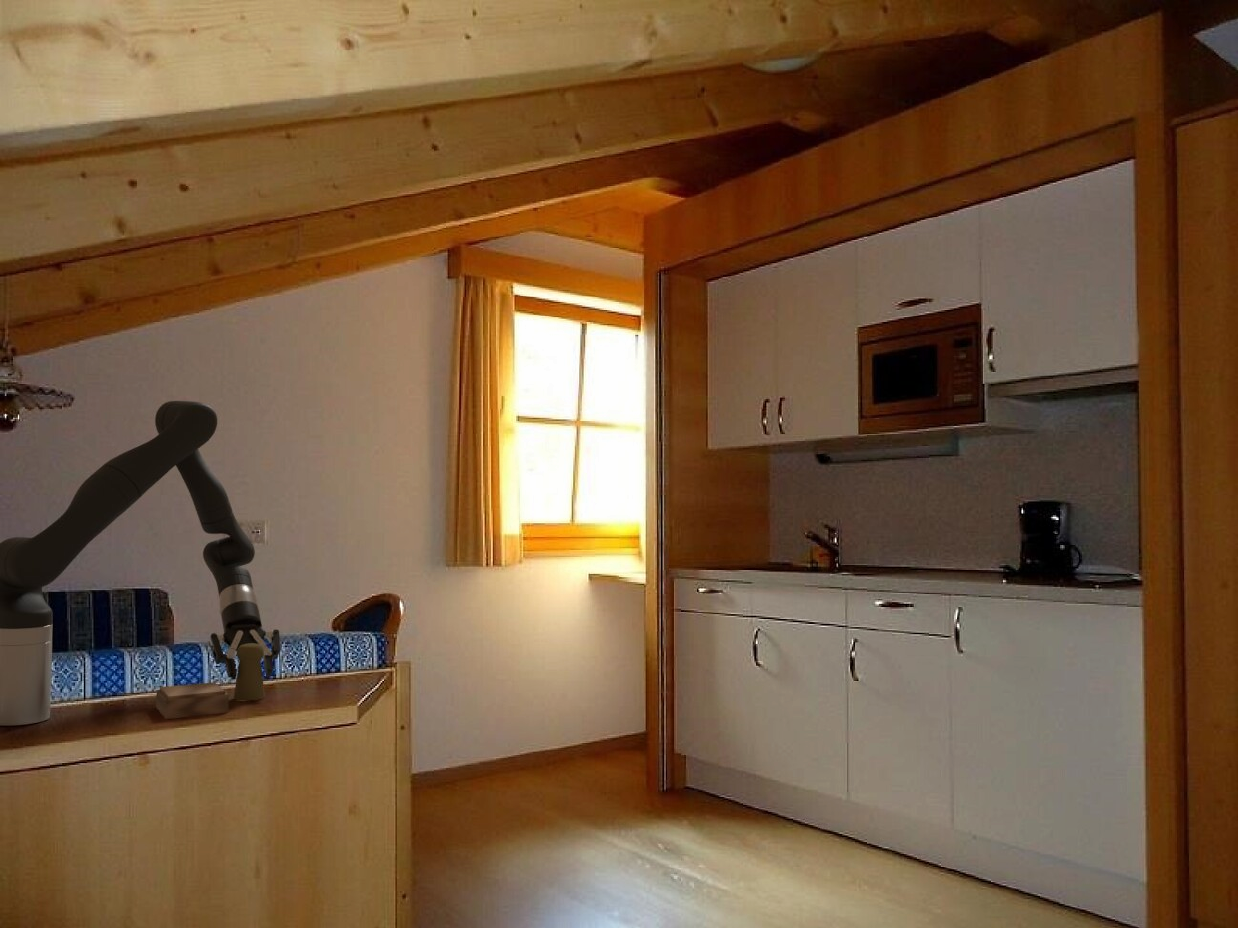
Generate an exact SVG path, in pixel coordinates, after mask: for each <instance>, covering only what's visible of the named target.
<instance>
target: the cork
mask: <svg viewBox="0 0 1238 928" xmlns="http://www.w3.org/2000/svg"><path fill="white" fill-rule="evenodd" d="M263 655H264V649H263V647H262V645H260V644H255V643H249V644H244V645H241V646H239V647H238V649H237V652H236V657H237V659H238V661H239V662H238V667H237V668H238V669H237V675H236V679H235V688H234V693H233V699H232V700H234V699H235V700H234V701H236V700H244V701H243V702H250V701H249V700H255V701H259V700H258V699H261V700H263V699H265V698H266V696H265V695H266V694H265V686H264V678H263V669H262V661H261V660H263V659H262V657H263ZM245 700H246V701H245Z"/></svg>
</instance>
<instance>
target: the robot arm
mask: <svg viewBox="0 0 1238 928" xmlns="http://www.w3.org/2000/svg"><path fill="white" fill-rule="evenodd" d="M154 418H155V419H154V424H155V428H156V431H157V434H158V435H156V436H155V437H154V438H152V439H150V440H148V441H146V442H145V443H142V444H140V445H138V446H136V447H134V448H131V449H129V450H126V451H125V452H122V453H121V454H119V455H116V456H115V457H112V458H111V459H109V460H108V461H107V462H105V463H104V464H103V465H101V466H100V467H99V468H98V469H96V471H94V473H92V474H91V475H90V476H89V477H87V478H86V479H85V480H84V481H83V482H82V484H80V486H79V488H77V491H76V492H75V494H74V496H73V498H72V500H71V502H70V504H69V506H68V507H67V509H65V511H64V512H63V513H62V514H61V516H60V517H58V519H56V520H55V521H54V522H52V523H51V524H50V525H49V526H47V527H46V528H45V529H44V530H42V531H41V532H39V533H38V534H36V535H35V536H33V537H26V536H25V537H24V536H20V537H19V536H16V537H9V538H7V539H5V540H3V541H1V542H0V726H6V727H7V726H22V725H31V724H35V723H41V722H44V721H46V720H49V719H50V717H51V698H52V697H51V696H52V694H51V692H52V690H51V688H52V661H53V660H52V659H53V657H52V655H53V627H54V626H53V620H54V619H53V618H54V617H53V616H54V613H53V609H52V608H51V607H50V605H49V604H47V602H46V600H45V599H44V596H43V594H44V593H43V588H44V587H46V586H49V585H50V584H52V583H53V582H54V581H55V580H56V579H58V578H59V576H61V575H62V573H63V572H64V571H65V570H66V569H67V568H68V567H69V565H70V564H72V562H73V561H74V560H75V559H76V558H77V557H78V555H79V554H80V553H81V552H83V550H84V549H85V548H86V547H87V546H88V545H89V544H90V542H92V541H93V540H94V539H95V538H96V537H97V536H98V535H100V534H101V533H102V532H103V531H105V530H106V529H107V527H109V526H110V525H111V524H112V523H113V522H115V520H116V519H118V518H119V517H120V516H121V515H122V514H124V512H126V511H127V510H128V509H129V508H131V507H132V505H134V504H135V503H136V502H137V501H138V500H139V499H140V498H141V497H143V495H144V494H145V493H146V492H148V490H150V489H151V488H152V487H153V486H154V485H155V484H157V482H159V481H160V480H161V479H162V478H163V477H164V476H166V474H167V473H169V472H170V471H171V470H172V469H173V468H174V467H176V468H177V471H178V472H179V474H180V476H181V478H182V480H183V482H184V484H185V486H186V488H187V490H188V493H189V494H190V498H191V501H192V503H193V505H194V509H195V511H196V514H197V516H198V520H199V523H200V526H201V528H202V531H204V532H205V533H206V534H210V535H219V534H221V535H223V534H224V535H227V536H228V537H224V538H220V539H216V540H213V541H210V542H208V543H206V545H205V546H204V548H203V551H202V557H203V560H204V562H205V564H206V566H207V568H208V569H209V571H210V572H211V574H212V576H213V578H214V580H215V582H216V586H217V591H218V599H219V614H220V616H221V622H222V629H223V634H217V633H215V632H214V633H211V634H210V638H209V640H208V644H209V648H210V650H211V653H212V657H213V660H214V662H215V664H217V665H219V664H224V665H225V668H226V675H227V677H228V678H230V680H232V681H233V680H234V681H235V680H237V673H238V670H237V666H236V661H235V656H236V655H237V649H238V647H239V646H241V645H244V644H249V643H255V644H260V645H262V647H263V649H264V655H263V657H262V659H261V660H262V661H263V670H264V672H265V673H264V674H265V677H266V678H267V677H268V678H270V677H271V674H273V671H274V668H275V666H274V662H273V660H277V659H278V658H279V655H280V653H281V640H280V639H281V638H280V630H279V629H273V631H266V630H265V629H264V628H263V626H262V619H261V614H260V610H259V609H260V608H259V605H258V600H257V596H256V594H255V591H254V587H253V582H252V581H253V580H252V576H251V573H250V571H249V570H248V568H245V567H244V566H245V565H248V564H250V563H251V562H253V560H254V558H255V553H256V552H255V550H256V549H255V546H254V544H253V542H252V540H251V539H250V538H249V536H248V535H247V534H246V532H245V531H244V530H243V529H242V527H241V525H240V524H239V523H238V520H237V518H236V516H235V514H234V512H233V507H232V505H231V502H230V499H229V496H228V494H227V492H226V489H225V487H224V486H223V484H222V483H221V481H220V480H219V479H218V477H217V476H216V474H215V473H214V472H213V471H212V469H210V467H209V466H208V464H207V463H206V461H205V459H204V458H203V456H202V454H201V452H200V450H199V449H200V448H202V446H204V445H205V444H206V443H208V442H209V441H210V439H212V437H213V436H214V435H215V432H216V430H217V428H218V415H217V412H216V410H214V408H213V407H212V406H210V405H208V404H206V403H204V402H199V401H192V400H191V401H190V400H189V401H188V400H170V401H166V402H165V403H163V404H162V405H161V406H159V408H158V409H157V411H156V414H155V417H154ZM265 639H267V641H268V643H269V644H271V649H270V648H269V647H268V646H267V643H266V642H265V641H264V640H265ZM223 642H224V643H225V644H226V645H227V646H229V650H228V652H227V653H223V649H222V646H221V645H222V643H223Z"/></svg>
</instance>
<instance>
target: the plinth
mask: <svg viewBox="0 0 1238 928" xmlns="http://www.w3.org/2000/svg"><path fill="white" fill-rule="evenodd" d="M155 694H156V695H155V696H156V698H155V699H156V701H155V702H156V703H155V708H156V709H157V710H159V711H158V712H159V713H160V714H161V715H162V717H163V718H164V719H166V720H168V719H169V720H170V719H177V718H187V717H188V718H189V717H197V716H205V715H206V716H207V715H208V716H209V715H215V714H217V715H218V714H226V713H229V702H230V701H229V696H230V695H229V693H228V692H226V690H225V689H224V688H222V687H221V686H220V685H219V684H217V683H216V682H215V681H213V682H202V683H195V684H194V683H193V684H180V685H171V686H170V685H169V686H160V687H159V689H156V693H155Z"/></svg>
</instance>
